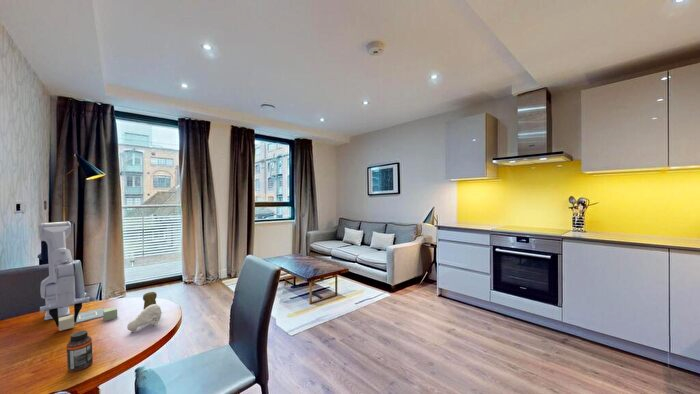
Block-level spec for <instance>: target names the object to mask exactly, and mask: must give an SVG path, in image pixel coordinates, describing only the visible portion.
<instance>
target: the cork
mask: <svg viewBox="0 0 700 394" xmlns="http://www.w3.org/2000/svg"><path fill="white" fill-rule="evenodd" d="M156 299H157V292H155V291H148V292H145V293H144V294H143V296H142V300H143V302H144V304H143V310H144V309H145V308H146V307H148V306H150V305H153V304H157V300H156ZM143 310H142V311H143Z"/></svg>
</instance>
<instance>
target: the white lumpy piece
mask: <svg viewBox="0 0 700 394" xmlns="http://www.w3.org/2000/svg"><path fill="white" fill-rule="evenodd" d="M143 309H144V308H143ZM162 313H163V312H162V309H161V306H160V305H158V304H157V303H156V304H153V305H150V306H148V307H146V308H145V309H144V310H142V311H141V312H140V313H139V314H138V315H137V317H136V318H135V319H133V320H131V321H130V322H129V323H128V324H127V330H128V331H130V332H131V333H134V332H137V331H138V329H139V328H140V327H143V326H146V325H153V326H154V327H157V325H158V324H159V323H160V321H161V317H162Z"/></svg>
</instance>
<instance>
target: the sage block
mask: <svg viewBox="0 0 700 394" xmlns="http://www.w3.org/2000/svg"><path fill="white" fill-rule="evenodd" d="M102 318H103V321H104V322H106V321H110V320H114V319H117V318H118V308H117V306H111V307H108V308H104V309H103V317H102Z"/></svg>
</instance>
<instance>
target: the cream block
mask: <svg viewBox="0 0 700 394" xmlns="http://www.w3.org/2000/svg"><path fill="white" fill-rule="evenodd" d="M58 319H59V327H58V331H59V332H61V331H65V330H68V329H73V328H75V324H74V314H69V315H66V316H61V317H58Z"/></svg>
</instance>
